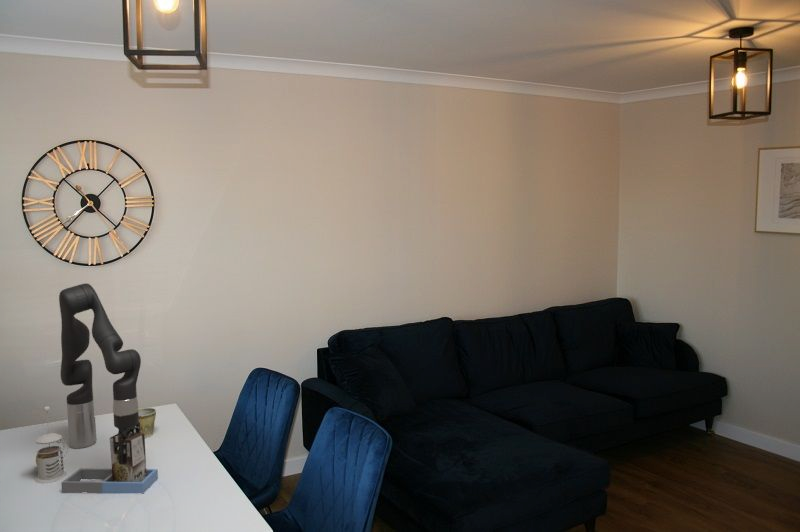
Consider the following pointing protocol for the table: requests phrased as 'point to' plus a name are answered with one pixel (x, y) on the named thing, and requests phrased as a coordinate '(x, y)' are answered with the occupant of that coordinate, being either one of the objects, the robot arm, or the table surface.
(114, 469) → the coffee box
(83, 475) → the frame
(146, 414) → the ceramic cup
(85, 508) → the table surface
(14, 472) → the table surface
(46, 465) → the lemon
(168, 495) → the table surface
